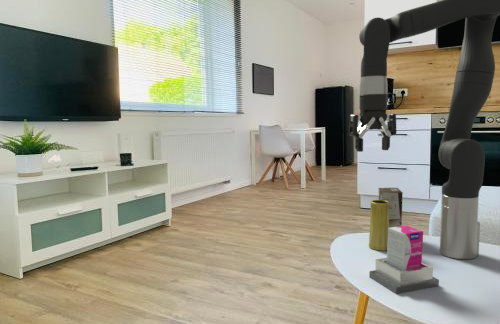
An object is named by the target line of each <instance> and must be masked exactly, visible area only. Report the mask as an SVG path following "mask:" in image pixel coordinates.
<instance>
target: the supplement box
mask: <svg viewBox="0 0 500 324" xmlns="http://www.w3.org/2000/svg"><path fill="white" fill-rule="evenodd" d="M423 241H424V231H422V230H420V229H418V228H417V229H416V228H414V227H411V226H409V225H402V226H398V227H391V228H388V247H387V250H386V254H387V255H386V258H387V264H389V265H390V266H392V267H394V268H396V269H398V270H400V271H405V270H411V269H417V268H421V265H422V263H423V262H422V261H423V260H422V259H423V245H424V244H423Z"/></svg>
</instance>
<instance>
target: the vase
mask: <svg viewBox="0 0 500 324" xmlns="http://www.w3.org/2000/svg"><path fill="white" fill-rule="evenodd" d="M369 219H370V220H369V222H370V223H369V234H368V235H369V236H368V237H369V239H368V241H369V242H368V247H369V248H370V249H372V250H374V249H375V250H376V251H387V247H388V228H389V202H388V201H385V200H378V199H374V200H370V218H369ZM375 250H374V251H375Z"/></svg>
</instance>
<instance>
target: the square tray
mask: <svg viewBox="0 0 500 324" xmlns="http://www.w3.org/2000/svg"><path fill="white" fill-rule="evenodd" d="M433 269H434V267H433V266H430V265H428V264H426V263H424V262H422V265H421V268H417V269H411V270H405V271H400V270H398V269H396V268H394V267H392V266H390V265H389V264H387V257H383V258H377V259H375V270H369V274H368V275H369V278H371V279H372V280H374V281H375V282H377V283H378V284H380V285H381V286H383V287H384V288H386V289H387V290H389V291H390V292H392V293H394V294H395V295H397V294H402V293H409V292H413V291H419V290H423V289H429V288H433V287H434V288H435V287H439V285H440V282H439V281H440V280H439V279H438V278H437V277H434V276H433V275H434V270H433Z"/></svg>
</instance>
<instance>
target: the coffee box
mask: <svg viewBox="0 0 500 324" xmlns="http://www.w3.org/2000/svg"><path fill="white" fill-rule="evenodd" d="M377 189H378V191H377V193H378V195H377V198H378V199H377V200H385V201H388V202H389V228H391V227H398V226H403V224H402V223H403V222H402V221H403V217H402V216H403V193H404V192H403V191H401V189H399V188H398V187H378V188H377Z"/></svg>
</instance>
